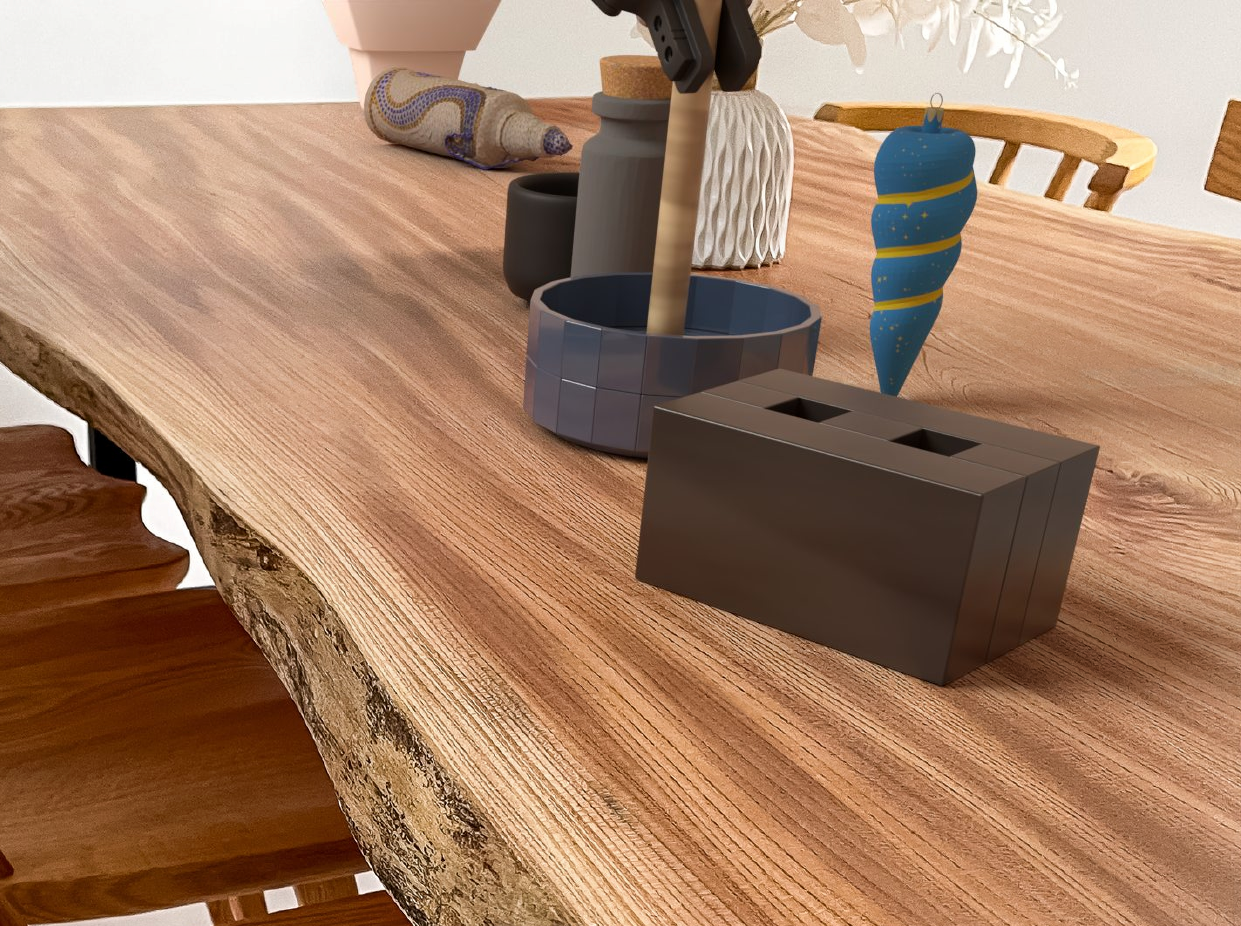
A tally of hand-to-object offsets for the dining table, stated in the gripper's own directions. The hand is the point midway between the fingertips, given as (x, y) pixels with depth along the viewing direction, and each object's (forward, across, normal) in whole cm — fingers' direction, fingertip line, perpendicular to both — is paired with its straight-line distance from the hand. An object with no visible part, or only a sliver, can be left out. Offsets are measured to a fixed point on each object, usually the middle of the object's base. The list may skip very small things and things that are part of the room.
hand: (720, 79), depth 78 cm
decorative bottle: (-44, +28, +68) cm, 86 cm away
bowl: (-63, +35, +86) cm, 112 cm away
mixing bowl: (+10, 0, +13) cm, 16 cm away
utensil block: (+26, -6, -3) cm, 27 cm away
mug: (-6, +9, +30) cm, 32 cm away
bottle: (-1, +8, +25) cm, 26 cm away
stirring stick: (+9, 0, +12) cm, 15 cm away
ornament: (+10, +14, +13) cm, 22 cm away
